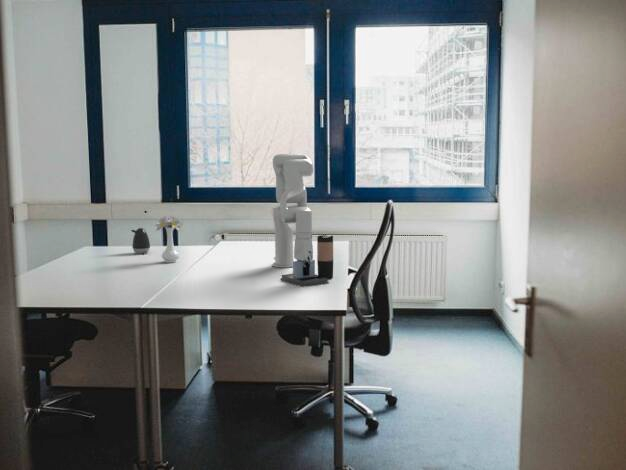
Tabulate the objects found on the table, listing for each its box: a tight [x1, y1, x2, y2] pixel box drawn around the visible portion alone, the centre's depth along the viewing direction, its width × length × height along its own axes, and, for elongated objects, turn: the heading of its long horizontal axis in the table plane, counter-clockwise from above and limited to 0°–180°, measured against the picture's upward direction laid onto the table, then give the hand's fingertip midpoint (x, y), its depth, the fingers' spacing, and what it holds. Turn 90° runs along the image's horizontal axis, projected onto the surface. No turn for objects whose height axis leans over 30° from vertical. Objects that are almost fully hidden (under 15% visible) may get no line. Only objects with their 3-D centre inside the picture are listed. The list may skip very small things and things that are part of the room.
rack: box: [280, 273, 330, 288], centre depth 319 cm, size 20×14×3 cm
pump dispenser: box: [130, 227, 151, 255], centre depth 403 cm, size 10×10×15 cm
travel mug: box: [316, 234, 334, 280], centre depth 326 cm, size 8×8×20 cm
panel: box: [292, 259, 316, 279], centre depth 318 cm, size 3×10×8 cm, turn 122°
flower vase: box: [155, 216, 183, 264], centre depth 374 cm, size 13×18×25 cm
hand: (304, 274), depth 318 cm, fingers closed on panel, 3 cm apart
